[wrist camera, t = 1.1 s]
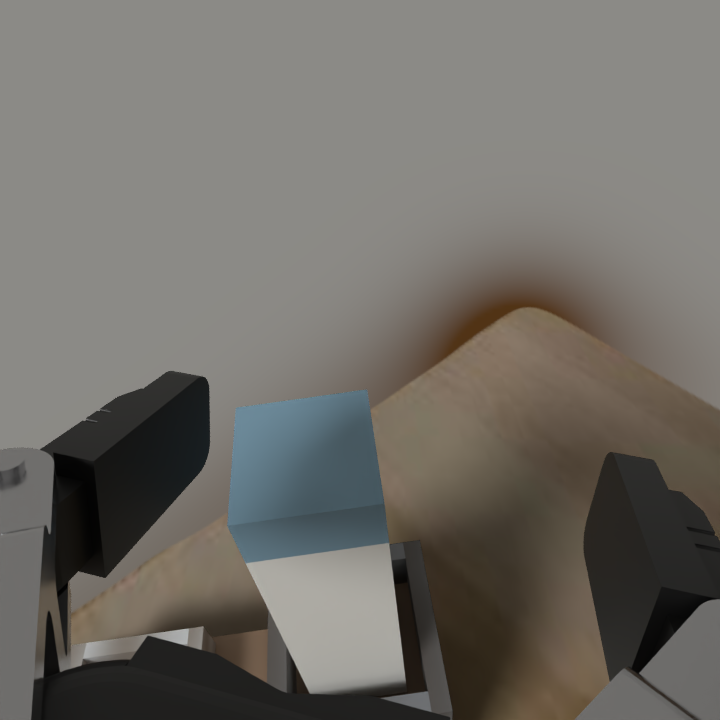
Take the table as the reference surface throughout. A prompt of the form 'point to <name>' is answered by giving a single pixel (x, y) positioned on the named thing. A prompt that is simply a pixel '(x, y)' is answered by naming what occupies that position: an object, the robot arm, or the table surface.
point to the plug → (319, 539)
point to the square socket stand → (275, 663)
